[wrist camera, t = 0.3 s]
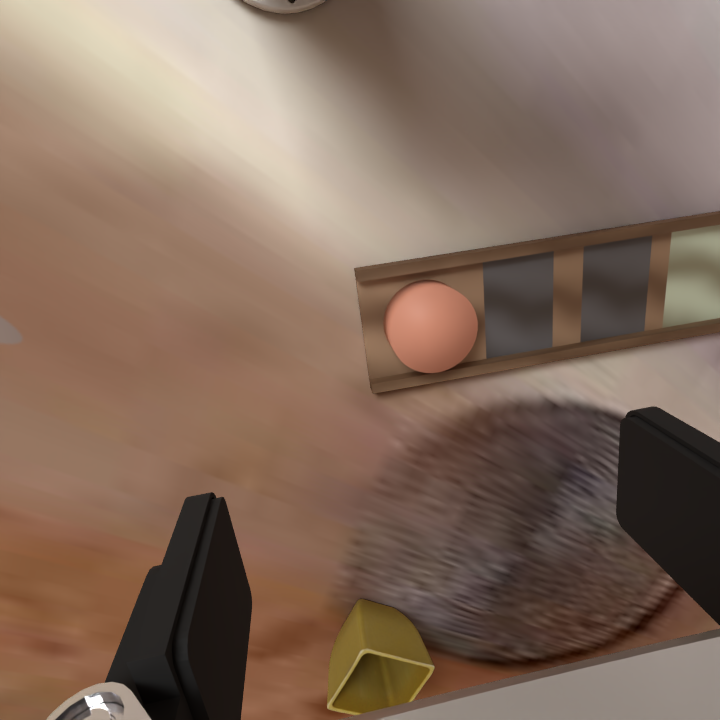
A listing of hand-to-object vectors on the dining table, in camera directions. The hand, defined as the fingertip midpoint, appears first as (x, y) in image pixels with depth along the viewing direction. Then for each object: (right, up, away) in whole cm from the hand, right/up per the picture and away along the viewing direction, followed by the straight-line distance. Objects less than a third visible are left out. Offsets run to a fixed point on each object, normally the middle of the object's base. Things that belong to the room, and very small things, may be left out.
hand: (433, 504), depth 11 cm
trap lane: (+20, +10, +36) cm, 43 cm away
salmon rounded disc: (+5, +7, +35) cm, 36 cm away
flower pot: (-1, -28, +47) cm, 55 cm away
